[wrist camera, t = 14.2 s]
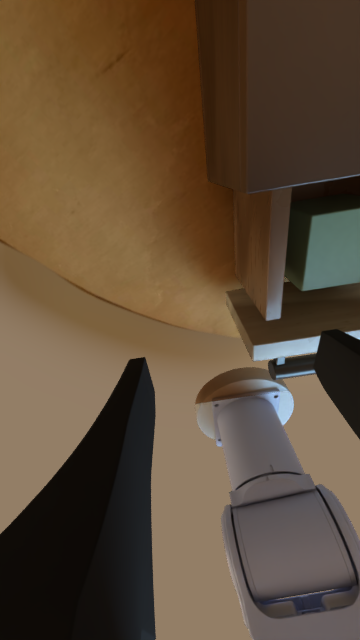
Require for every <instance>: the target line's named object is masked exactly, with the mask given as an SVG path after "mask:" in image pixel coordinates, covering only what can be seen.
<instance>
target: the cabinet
mask: <svg viewBox="0 0 360 640" xmlns="http://www.w3.org/2000/svg"><path fill="white" fill-rule="evenodd" d="M195 9H196V23H197V37H198V51H199V65H200V78H201V92H202V106H203V120H204V134H205V148H206V162H207V175H208V181H210V182H213V183H216V184H219V185H222V186H225V187H228V188H231V189H234V190H237V191H240V192H242V193H245V194H253V193H259V192H265V191H271V190H277V189H283V188H289V187H295V186H301V185H307V184H313V183H319V182H325V181H332V180H338V179H344V178H350V177H356V176H360V0H195Z"/></svg>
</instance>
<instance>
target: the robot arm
mask: <svg viewBox="0 0 360 640" xmlns="http://www.w3.org/2000/svg"><path fill="white" fill-rule="evenodd" d="M313 368H314V370H315V372H316V374H317V376H318V378H319V380H320V382H321V384H322V386H323V388H324V389H325V391H326V392H327V394H328V395H329V397H330V398H331V400H332V401H333V403H334V404H335V405H336V407H337V408H338V410H339V411H340V413H341V414H342V415H343V417H344V418H345V420H346V421H347V422H348V424H349V425H350V427H351V428H352V429H353V431H354V432H355V434H356V435H357V436H358V438H359V439H360V340H359V339H357V338H355V337H353V336H351V335H349V334H347V333H345V332H343V331H340V330H338V329H333V330H326V331H322V332H321V336H320V340H319V345H318V349H317V353H316V358H315V362H314V366H313ZM279 401H280V391H279V389H269V390H262V391H255V392H249V393H242V394H235V395H228V396H221V397H215V398H213V399H212V410H213V419H214V428H215V437H216V444H217V446H223V450H224V455H225V459H226V464H227V469H228V473H229V478H230V483H231V487H232V491H231V492H229V494H230V499H231V504H232V505H226V506H225V509H224V512H223V514H222V517H221V524H222V534H223V541H224V547H225V552H226V557H227V562H228V565H229V570H230V574H231V578H232V581H233V584H234V587H235V590H236V592H237V594H238V598H239V602H240V606H241V610H242V614H243V619H244V623H245V626H246V627H247V628H248V629H249V633H250V636H251V638H252V639H253V640H360V540H359V538H358V536H357V534H356V531H355V529H354V527H353V525H352V523H351V521H350V519H349V517H348V516H347V514H346V512H345V510H344V508H343V506H342V505H341V503H340V502H339V500H338V499H337V497H336V496H335V495H334V493H333V492H332V491H330V490H329V489H327V488H325V487H324V486H323V485H321V484H319V485H316V486H315V485H314V483H313V481H312V478H311V476H310V474H305V473H304V471H303V468H302V467H301V464H300V462H299V460H298V458H297V456H296V453H295V451H294V449H293V447H292V445H291V443H290V440H289V438H288V436H287V434H286V432H285V430H284V427H283V425H282V423H281V421H280V419H279V417H278V410H279ZM154 427H155V391H154V387H153V384H152V380H151V377H150V373H149V369H148V366H147V363H146V359H145V357H143V358H136V359H130V360H129V362H128V364H127V366H126V368H125V370H124V372H123V374H122V376H121V378H120V380H119V381H118V384H117V385H116V387H115V389H114V391H113V392H112V394H111V396H110V398H109V399H108V401H107V403H106V404H105V406H104V408H103V409H102V411H101V412H100V414H99V416H98V417H97V419H96V421H95V422H94V423H93V425H92V426H91V428H90V429H89V431H88V432H87V434H86V435H85V437H84V438H83V439H82V441H81V442H80V443H79V445H78V446H77V448H76V449H75V450H74V452H73V453H72V454H71V455H70V457H69V458H68V459H67V461H66V462H65V463H64V464H63V465H62V467H61V468H60V469H59V470H58V472H57V473H56V474H55V475H54V477H53V478H52V479H51V480H50V481H49V482H48V484H47V485H46V486H45V487H44V488H43V489H42V490H41V491H40V493H39V494H38V495H37V496H36V497H35V498H34V499H33V500H32V501H31V502H30V503H29V505H28V506H27V507H26V508H25V509H24V510H23V511H22V512H21V513H20V514H19V515H18V517H17V518H16V519H15V520H14V521H13V522H12V523H11V524H10V525H9V526H8V527H7V528H6V529H5V530H4V531H3V532H2V533H1V534H0V640H155V639H156V635H155V617H154V594H153V569H152V567H153V566H152V531H151V467H152V454H153V441H154ZM332 589H334V590H332ZM326 590H331V591H326ZM320 591H325V592H320ZM314 592H319V593H314ZM308 593H314V594H308ZM303 594H307V595H303ZM296 595H302V596H296ZM291 596H296V597H291ZM285 597H290V598H285ZM279 598H284V599H279Z"/></svg>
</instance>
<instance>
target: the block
mask: <svg viewBox="0 0 360 640" xmlns="http://www.w3.org/2000/svg"><path fill="white" fill-rule="evenodd" d="M284 276H285V277H286V278H288V279H289V280H290V281H291V282H292V283H293V284H294V285H295V286H296V287H298V288H299V289H300V290H301V291H307V290H314V289H320V288H327V287H333V286H340V285H346V284H353V283H359V282H360V196H356V195H350V194H338V195H332V196H326V197H320V198H314V199H307V200H301V201H295V202H291V205H290V216H289V228H288V239H287V251H286V262H285V273H284Z"/></svg>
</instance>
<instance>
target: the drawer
mask: <svg viewBox="0 0 360 640" xmlns="http://www.w3.org/2000/svg"><path fill="white" fill-rule="evenodd" d="M338 194H350V195H356V196H360V176H356V177H350V178H344V179H338V180H332V181H325V182H319V183H313V184H307V185H301V186H295V187H289V188H283V189H277V190H271V191H265V192H259V193H253V194H245V193H242V192H240V191H237V190H234V189H233V204H234V244H235V275H236V277H237V278H238V280H239V282H240V283H241V285H242V286H243V288H244V289H238V290H232V291H226V305H227V307H228V309H229V311H230V314H231V316H232V318H233V320H234V322H235V324H236V327H237V329H238V331H239V333H240V335H241V337H242V340H243V342H244V344H245V346H246V348H247V350H248V352H249V355H250V357H251V359H252V361H260V360H266V359H273V358H274V360H270V361H269V363H268V369H269V373H270V376H271V378H272V379H273V380H278V379H285V378H291V377H298V376H305V375H312V374H316V372H315V370H314V368H313V366H314V362H315V358H316V354H310V355H304V356H297V357H290V358H285V357H287V356H294V355H300V354H307V353H314V352H317V349H318V345H319V340H320V336H321V332H322V331H326V330H333V329H338V330H340V331H343V332H345V333H347V334H349V335H351V336H353V337H355V338H357V339H359V340H360V282H359V283H353V284H346V285H340V286H333V287H327V288H320V289H314V290H307V291H301V290H300V289H299V288H298V287H296V286H295V285H294V284H293V283H292V282H291V281H289V282H284V273H285V262H286V251H287V239H288V228H289V216H290V205H291V202H295V201H301V200H307V199H314V198H320V197H326V196H332V195H338Z"/></svg>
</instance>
